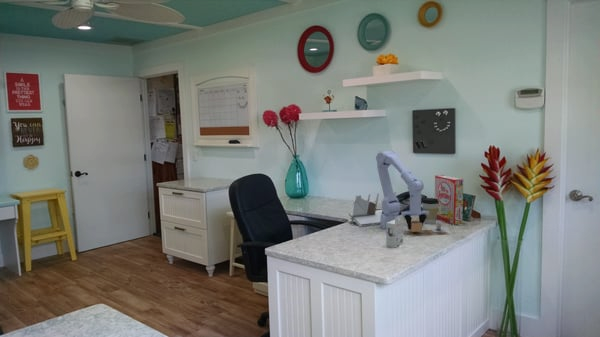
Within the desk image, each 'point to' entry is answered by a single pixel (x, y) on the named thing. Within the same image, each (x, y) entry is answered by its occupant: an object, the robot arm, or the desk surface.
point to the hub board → (429, 232)
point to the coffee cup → (430, 209)
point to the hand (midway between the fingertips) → (415, 228)
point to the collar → (416, 226)
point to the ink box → (394, 232)
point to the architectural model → (366, 212)
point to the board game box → (449, 198)
